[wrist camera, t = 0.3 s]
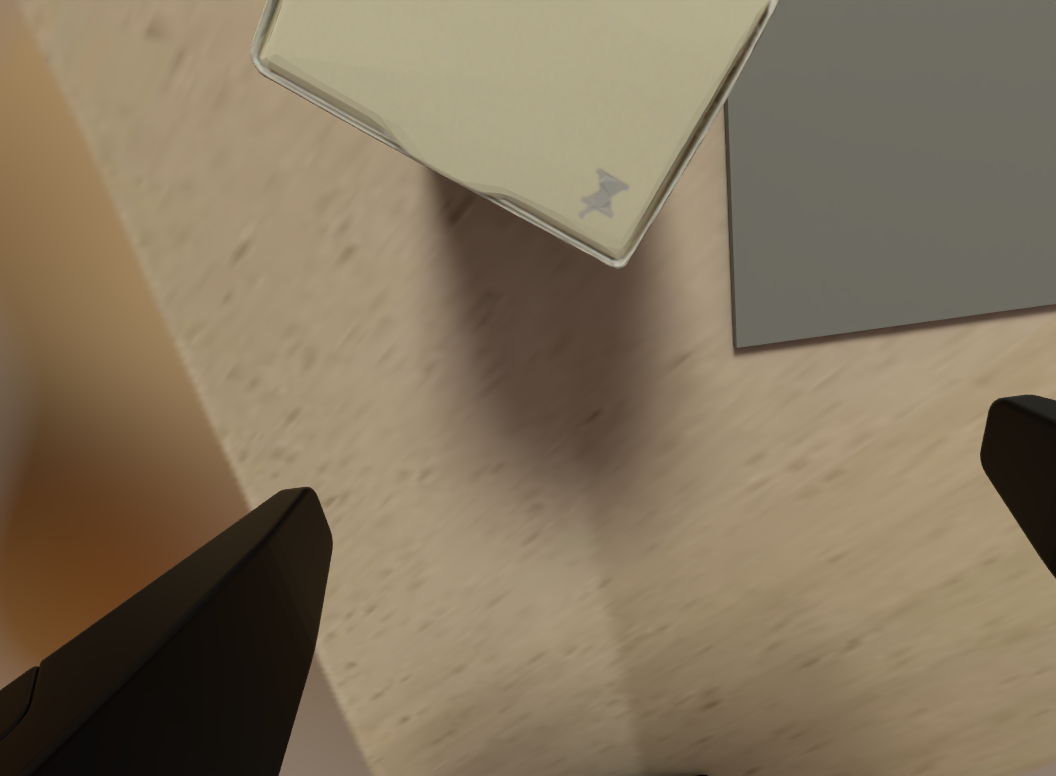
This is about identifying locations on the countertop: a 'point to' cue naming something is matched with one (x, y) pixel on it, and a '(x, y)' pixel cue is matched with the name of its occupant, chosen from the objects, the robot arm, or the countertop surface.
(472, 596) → the countertop surface
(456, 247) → the countertop surface
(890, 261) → the slate mat
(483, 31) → the skincare box
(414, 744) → the countertop surface
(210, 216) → the countertop surface
